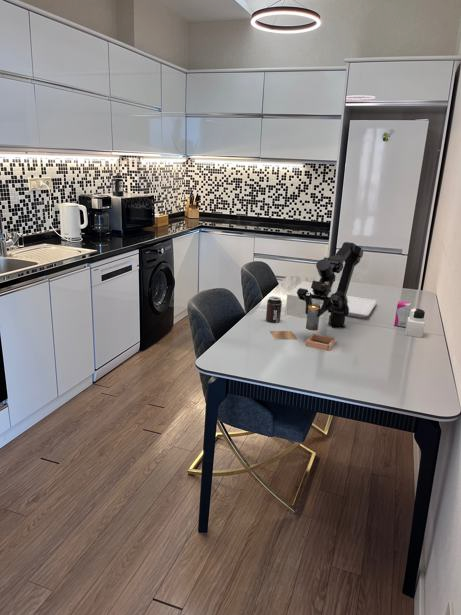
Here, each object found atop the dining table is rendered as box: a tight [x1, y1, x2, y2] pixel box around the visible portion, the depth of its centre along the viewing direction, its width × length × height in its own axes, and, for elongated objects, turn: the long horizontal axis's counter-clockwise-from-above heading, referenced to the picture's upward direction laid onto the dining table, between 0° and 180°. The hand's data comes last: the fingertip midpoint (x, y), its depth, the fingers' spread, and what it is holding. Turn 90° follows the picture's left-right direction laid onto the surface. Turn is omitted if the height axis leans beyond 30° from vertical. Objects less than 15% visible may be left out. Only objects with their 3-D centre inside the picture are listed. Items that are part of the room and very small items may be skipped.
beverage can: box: [265, 295, 283, 324], centre depth 217 cm, size 7×7×12 cm
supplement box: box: [393, 301, 412, 329], centre depth 223 cm, size 6×6×12 cm
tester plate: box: [269, 330, 298, 341], centre depth 201 cm, size 10×10×1 cm
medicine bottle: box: [405, 308, 426, 338], centre depth 212 cm, size 7×7×12 cm
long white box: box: [285, 280, 321, 319], centre depth 242 cm, size 32×11×11 cm, turn 158°
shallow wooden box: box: [305, 333, 337, 352], centre depth 192 cm, size 10×10×3 cm
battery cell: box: [305, 303, 321, 332], centre depth 191 cm, size 5×5×10 cm
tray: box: [346, 295, 378, 319], centre depth 245 cm, size 17×32×4 cm, turn 155°
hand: (312, 315), depth 189 cm, fingers closed on battery cell, 5 cm apart
